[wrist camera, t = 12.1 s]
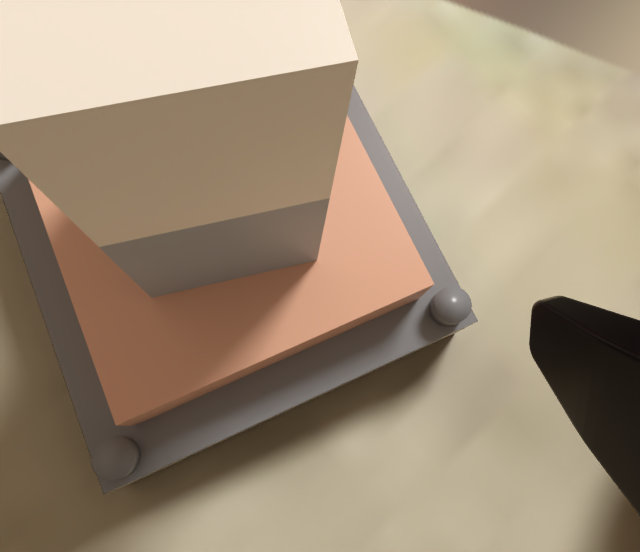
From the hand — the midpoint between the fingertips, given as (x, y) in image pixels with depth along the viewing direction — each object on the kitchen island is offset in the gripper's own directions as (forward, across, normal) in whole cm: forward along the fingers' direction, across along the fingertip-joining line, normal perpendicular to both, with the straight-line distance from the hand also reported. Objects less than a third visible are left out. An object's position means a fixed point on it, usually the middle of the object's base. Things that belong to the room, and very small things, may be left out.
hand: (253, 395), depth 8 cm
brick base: (+13, 0, +4) cm, 14 cm away
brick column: (+10, 0, +1) cm, 10 cm away
